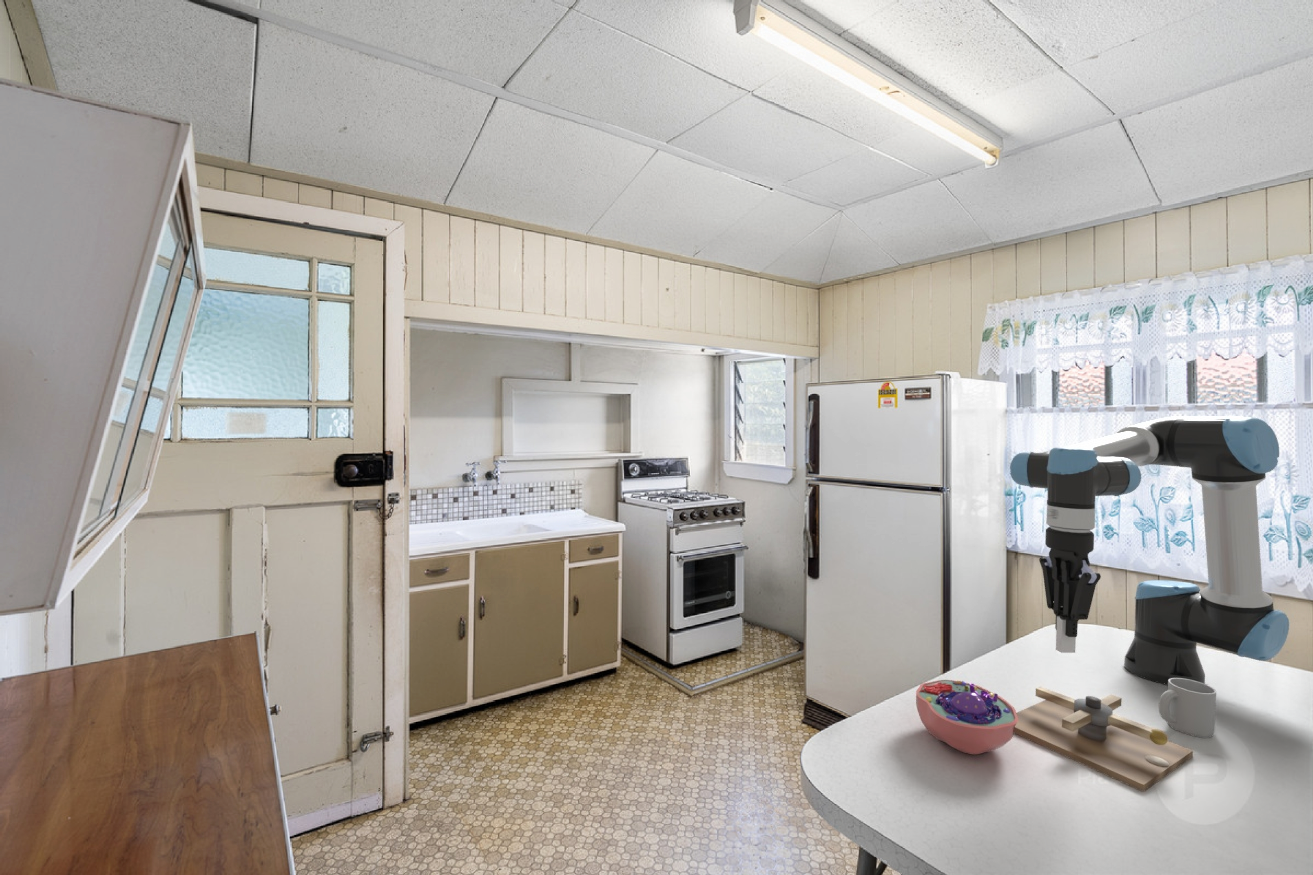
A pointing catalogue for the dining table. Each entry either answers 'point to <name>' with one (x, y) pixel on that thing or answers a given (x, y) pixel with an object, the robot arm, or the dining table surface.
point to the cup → (1189, 707)
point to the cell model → (965, 715)
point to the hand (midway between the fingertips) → (1065, 650)
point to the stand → (1101, 746)
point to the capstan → (1099, 714)
